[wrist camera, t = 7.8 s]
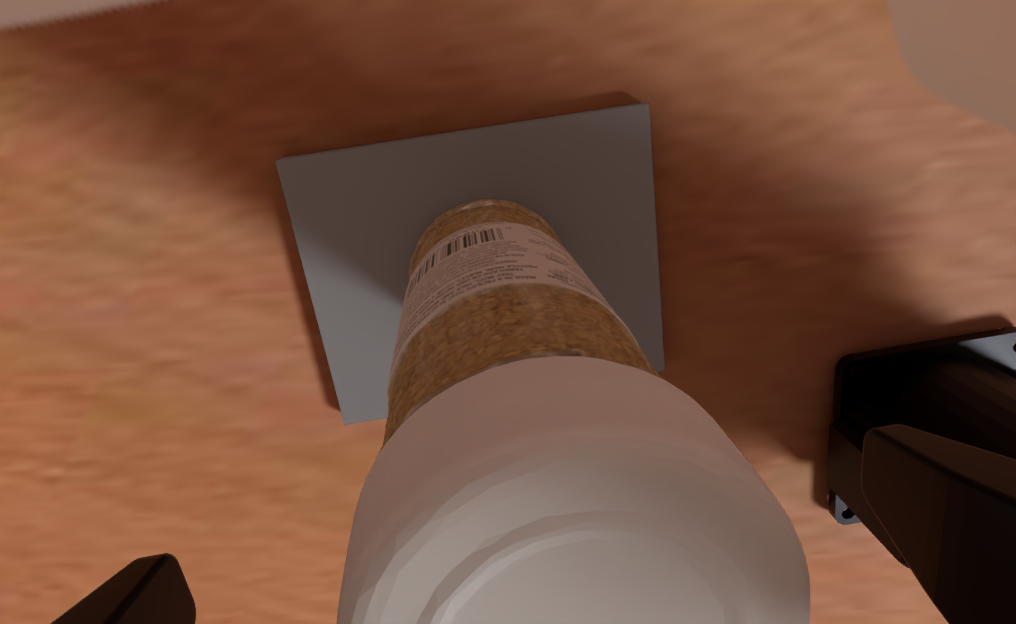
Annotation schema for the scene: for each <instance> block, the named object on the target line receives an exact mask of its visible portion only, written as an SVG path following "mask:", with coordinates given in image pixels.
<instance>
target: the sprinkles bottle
mask: <svg viewBox="0 0 1016 624" xmlns="http://www.w3.org/2000/svg"><path fill="white" fill-rule="evenodd" d="M386 395H387V401H388V409H389V410H388V417H387V423H386V431H385V437H384V443H383V447H382V448H381V450H380V452H379V454H378V456H377V458H376V460H375V462H374V464H373V466H372V468H371V470H370V472H369V474H368V476H367V478H366V480H365V483H364V485H363V488H362V490H361V493H360V496H359V500H358V504H357V507H356V511H355V515H354V520H353V525H352V530H351V535H350V540H349V545H348V550H347V556H346V562H345V568H344V574H343V580H342V586H341V592H340V599H339V607H338V614H337V624H809V619H810V581H809V573H808V568H807V563H806V559H805V555H804V552H803V548H802V545H801V543H800V541H799V538H798V536H797V534H796V532H795V530H794V527H793V525H792V523H791V521H790V519H789V517H788V515H787V514H786V512H785V511H784V509H783V508H782V506H781V505H780V503H779V502H778V500H777V499H776V497H775V496H774V495H773V493H772V492H771V490H770V489H769V488H768V486H767V485H766V484H765V482H764V481H763V480H762V478H761V477H760V476H759V474H758V473H757V472H756V470H755V469H754V468H753V467H752V465H751V464H750V463H749V462H748V461H747V459H746V458H745V457H744V456H743V454H742V453H741V452H740V451H739V450H738V448H737V447H736V446H735V445H734V444H733V442H732V441H731V440H730V439H729V437H728V436H727V435H726V434H725V432H724V431H723V430H722V429H721V427H720V426H719V425H718V424H717V422H716V421H715V420H714V419H713V418H712V417H711V416H710V415H709V414H708V413H707V412H706V411H705V410H704V409H703V408H702V407H701V406H700V405H699V404H698V403H697V402H696V401H695V400H694V399H692V398H691V397H690V396H688V395H687V394H686V393H684V392H683V391H682V390H680V389H678V388H677V387H675V386H674V385H672V384H670V383H669V382H667V381H666V380H664V379H662V378H661V376H660V375H659V374H658V373H657V372H656V371H655V369H654V368H653V367H652V366H651V364H650V363H648V360H647V358H646V356H645V355H644V353H643V352H642V350H641V348H640V347H639V345H638V343H637V341H636V339H635V338H634V336H633V335H632V333H631V332H630V330H629V329H628V327H627V326H626V325H625V324H624V322H623V321H622V320H621V319H620V318H619V316H618V315H617V314H616V313H615V311H614V310H613V309H612V307H611V306H610V305H609V304H608V302H607V301H606V300H605V298H604V297H603V296H602V294H601V293H600V292H599V291H598V289H597V288H596V287H595V286H594V284H593V283H592V282H591V280H590V279H589V278H588V277H587V275H586V274H585V273H584V271H583V270H582V269H581V268H580V266H579V265H578V264H577V262H576V261H575V260H574V259H573V257H572V256H571V255H570V254H569V253H568V252H567V250H566V249H565V248H564V247H563V246H562V243H561V241H560V239H559V237H558V236H557V234H556V233H555V231H554V230H553V228H552V227H551V226H550V225H549V224H548V223H547V222H546V221H545V220H544V219H543V218H542V217H541V216H540V215H539V214H537V213H535V212H533V211H531V210H529V209H527V208H526V207H524V206H522V205H520V204H517V203H514V202H510V201H506V200H498V199H478V200H474V201H471V202H469V203H465V204H461V205H458V206H456V207H455V208H453V209H452V210H449V211H447V212H445V213H443V214H441V215H440V216H439V217H438V218H436V219H435V220H434V221H433V223H432V224H431V225H430V226H429V227H428V228H427V229H426V230H425V232H424V233H423V234H422V236H421V237H420V239H419V241H418V243H417V246H416V249H415V251H414V254H413V256H412V257H411V260H410V266H409V284H408V287H407V290H406V294H405V299H404V304H403V308H402V313H401V318H400V323H399V328H398V333H397V338H396V343H395V348H394V353H393V359H392V364H391V369H390V375H389V381H388V388H387V394H386Z"/></svg>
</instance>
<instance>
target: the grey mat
mask: <svg viewBox="0 0 1016 624" xmlns="http://www.w3.org/2000/svg"><path fill="white" fill-rule="evenodd" d="M275 162H276V166H277V170H278V174H279V178H280V181H281V185H282V189H283V193H284V197H285V200H286V204H287V208H288V212H289V216H290V219H291V223H292V227H293V231H294V235H295V238H296V242H297V246H298V250H299V254H300V257H301V261H302V265H303V269H304V273H305V276H306V280H307V284H308V288H309V292H310V295H311V299H312V303H313V307H314V311H315V314H316V318H317V322H318V326H319V330H320V333H321V337H322V341H323V345H324V349H325V352H326V356H327V360H328V364H329V368H330V371H331V375H332V379H333V383H334V387H335V390H336V394H337V398H338V402H339V406H340V409H341V413H342V417H343V421H344V425H348V424H354V423H360V422H366V421H371V420H377V419H383V418H387V417H388V410H389V409H388V401H387V395H386V394H387V388H388V381H389V375H390V369H391V364H392V359H393V353H394V348H395V343H396V338H397V333H398V328H399V323H400V318H401V313H402V308H403V304H404V299H405V294H406V290H407V287H408V284H409V266H410V260H411V257H412V256H413V254H414V251H415V249H416V246H417V243H418V241H419V239H420V237H421V236H422V234H423V233H424V232H425V230H426V229H427V228H428V227H429V226H430V225H431V224H432V223H433V221H434V220H435V219H436V218H438V217H439V216H440V215H441V214H443V213H445V212H447V211H449V210H452V209H453V208H455V207H456V206H458V205H461V204H465V203H469V202H471V201H474V200H478V199H498V200H506V201H510V202H514V203H517V204H520V205H522V206H524V207H526V208H527V209H529V210H531V211H533V212H535V213H537V214H539V215H540V216H541V217H542V218H543V219H544V220H545V221H546V222H547V223H548V224H549V225H550V226H551V227H552V228H553V230H554V231H555V233H556V234H557V236H558V237H559V239H560V241H561V243H562V246H563V247H564V248H565V249H566V250H567V252H568V253H569V254H570V255H571V256H572V257H573V259H574V260H575V261H576V262H577V264H578V265H579V266H580V268H581V269H582V270H583V271H584V273H585V274H586V275H587V277H588V278H589V279H590V280H591V282H592V283H593V284H594V286H595V287H596V288H597V289H598V291H599V292H600V293H601V294H602V296H603V297H604V298H605V300H606V301H607V302H608V304H609V305H610V306H611V307H612V309H613V310H614V311H615V313H616V314H617V315H618V316H619V318H620V319H621V320H622V321H623V322H624V324H625V325H626V326H627V327H628V329H629V330H630V332H631V333H632V335H633V336H634V338H635V339H636V341H637V343H638V345H639V347H640V348H641V350H642V352H643V353H644V355H645V356H646V358H647V360H648V363H650V364H651V366H652V367H653V368H654V369H655V371H656V372H661V371H665V363H664V346H663V329H662V312H661V295H660V278H659V261H658V244H657V227H656V210H655V193H654V176H653V159H652V142H651V125H650V108H649V103H637V104H630V105H624V106H617V107H610V108H604V109H597V110H591V111H584V112H578V113H571V114H565V115H558V116H552V117H545V118H539V119H532V120H525V121H519V122H512V123H506V124H499V125H493V126H486V127H480V128H473V129H467V130H460V131H453V132H447V133H440V134H434V135H427V136H421V137H414V138H408V139H401V140H395V141H388V142H382V143H375V144H368V145H362V146H355V147H349V148H342V149H336V150H329V151H323V152H316V153H310V154H303V155H297V156H290V157H283V158H279V159H277V160H276V161H275Z"/></svg>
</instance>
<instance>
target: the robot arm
mask: <svg viewBox="0 0 1016 624" xmlns="http://www.w3.org/2000/svg"><path fill="white" fill-rule="evenodd" d="M1015 342H1016V327H1008V328H1002V329H996V330H991V331H985V332H979V333H973V334H967V335H961V336H955V337H949V338H944V339H938V340H932V341H926V342H920V343H914V344H908V345H902V346H897V347H891V348H885V349H879V350H873V351H867V352H861V353H855V354H850V355H847V356H845V357H843V358H842V359H841V360H839V362H838V363H837V365H836V368H835V380H834V402H833V419H832V421H831V423H830V425H829V444H828V467H827V485H828V486H829V487H830V491H829V512H830V514H831V515H832V516H833V517H834V518H835V519H836V520H837V522H838V523H840V524H843V525H847V524H854V523H859V522H862V523H863V524H864V525H865V526H866V527H867V528H868V529H869V530H870V531H871V532H872V534H873V535H874V536H875V537H876V538H877V539H878V540H879V541H880V542H881V543H882V544H883V545H884V546H885V547H886V549H887V550H888V551H889V552H890V553H891V554H892V555H893V556H894V557H895V558H896V559H897V560H898V561H899V562H900V563H901V564H903V565H904V566H906V567H907V568H910V569H911V570H912V572H913V574H914V575H915V577H916V578H917V580H918V581H919V583H920V584H921V586H922V587H923V589H924V590H925V592H926V593H927V595H928V596H929V598H930V599H931V600H932V602H933V603H934V605H935V606H936V607H937V609H938V610H939V611H940V613H941V614H942V615H943V616H944V618H945V619H946V620H947V622H948V623H949V624H1016V344H1015V345H1014V343H1015ZM1013 345H1014V346H1013ZM854 367H857V369H856V371H855V372H854V373H853V374H851V375H849V374H850V371H851V370H852V369H853V368H854ZM845 508H847V509H846V510H845V511H843V510H844V509H845ZM195 621H196V608H195V603H194V599H193V597H192V594H191V592H190V589H189V587H188V585H187V582H186V580H185V577H184V575H183V572H182V570H181V567H180V565H179V562H178V561H177V559H176V558H175V557H174V556H173V555H171V554H168V553H165V554H159V555H153V556H148V557H142V558H138V559H136V560H134V561H133V562H131V563H130V564H129V565H127V566H126V567H125V568H123V569H122V570H121V571H119V572H118V573H117V574H115V575H114V576H113V577H111V578H110V579H109V580H108V581H106V582H105V583H104V584H102V585H101V586H100V587H98V588H97V589H96V590H94V591H93V592H92V593H90V594H89V595H88V596H86V597H85V598H84V599H82V600H81V601H80V602H78V603H77V604H76V605H75V606H73V607H72V608H71V609H69V610H68V611H67V612H65V613H64V614H63V615H61V616H60V617H59V618H57V619H56V620H55V621H53V622H52V623H51V624H195Z"/></svg>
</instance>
